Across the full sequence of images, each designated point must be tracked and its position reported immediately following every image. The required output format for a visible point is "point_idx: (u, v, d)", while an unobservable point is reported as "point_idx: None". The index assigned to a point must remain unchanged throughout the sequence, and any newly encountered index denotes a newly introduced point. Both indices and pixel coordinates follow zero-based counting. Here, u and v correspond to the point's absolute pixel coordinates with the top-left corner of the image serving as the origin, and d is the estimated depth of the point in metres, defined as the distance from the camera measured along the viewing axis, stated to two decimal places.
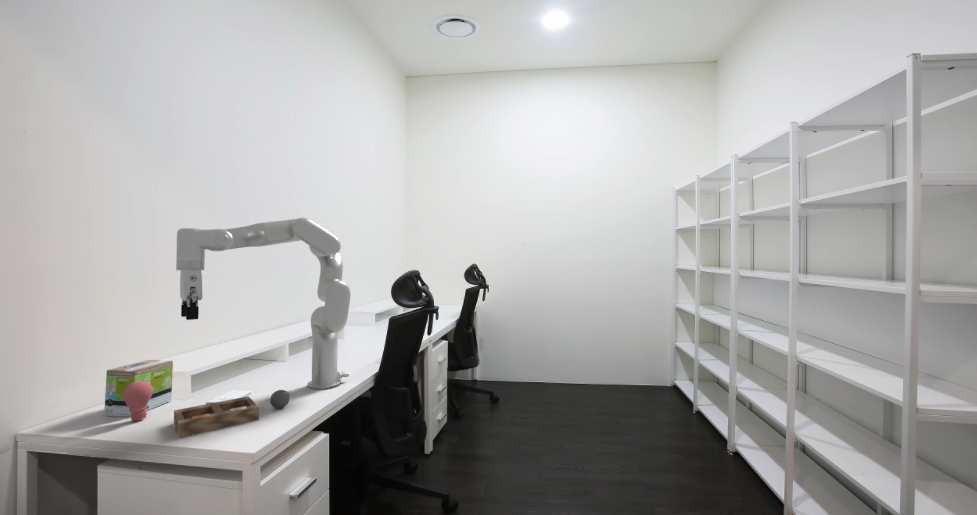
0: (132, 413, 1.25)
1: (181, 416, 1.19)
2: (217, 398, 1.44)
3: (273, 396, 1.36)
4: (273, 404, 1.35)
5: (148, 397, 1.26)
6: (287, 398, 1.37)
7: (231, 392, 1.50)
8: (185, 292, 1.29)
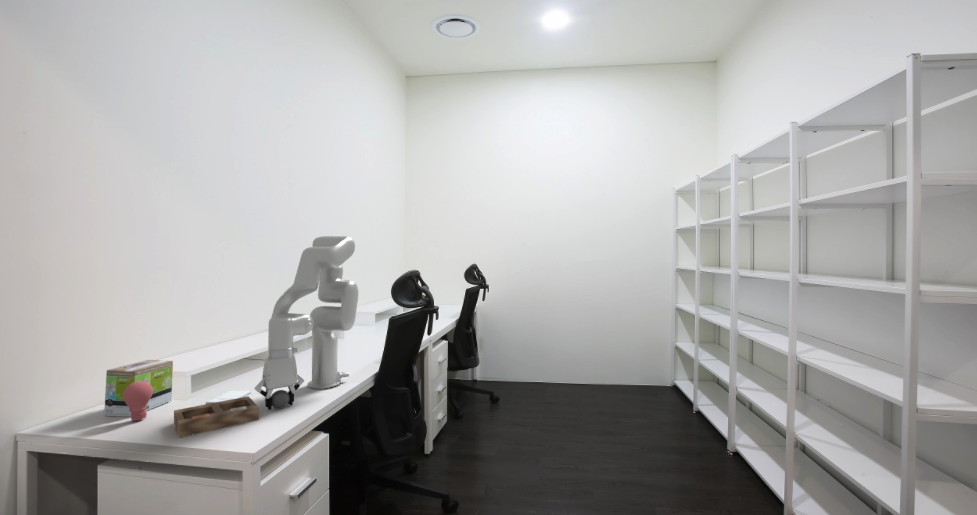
0: (132, 413, 1.25)
1: (181, 416, 1.19)
2: (217, 398, 1.44)
3: (273, 396, 1.36)
4: (273, 404, 1.35)
5: (148, 397, 1.26)
6: (287, 398, 1.37)
7: (231, 392, 1.50)
8: (296, 376, 1.40)
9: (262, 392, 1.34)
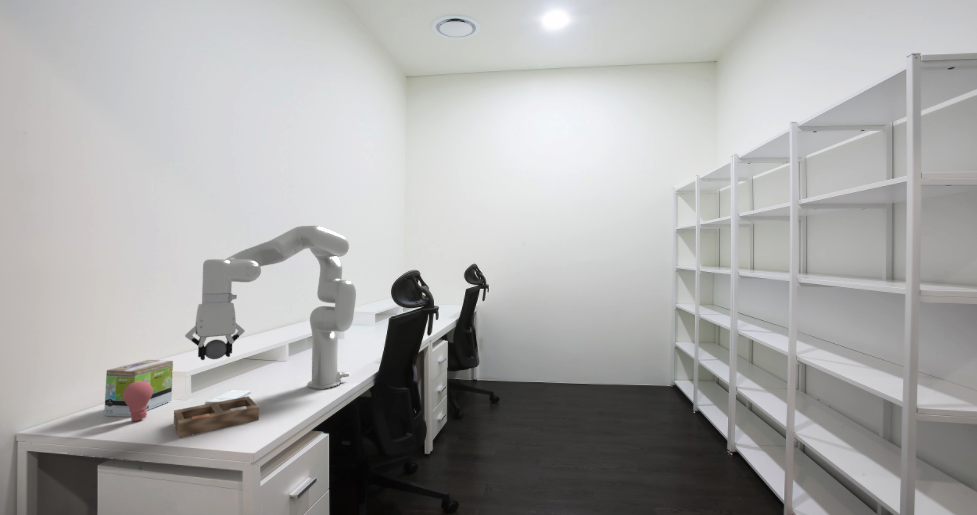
0: (132, 413, 1.25)
1: (181, 416, 1.19)
2: (217, 397, 1.44)
3: (207, 345, 1.23)
4: (207, 354, 1.23)
5: (148, 397, 1.26)
6: (223, 348, 1.25)
7: (231, 392, 1.51)
8: (235, 325, 1.27)
9: (194, 340, 1.21)
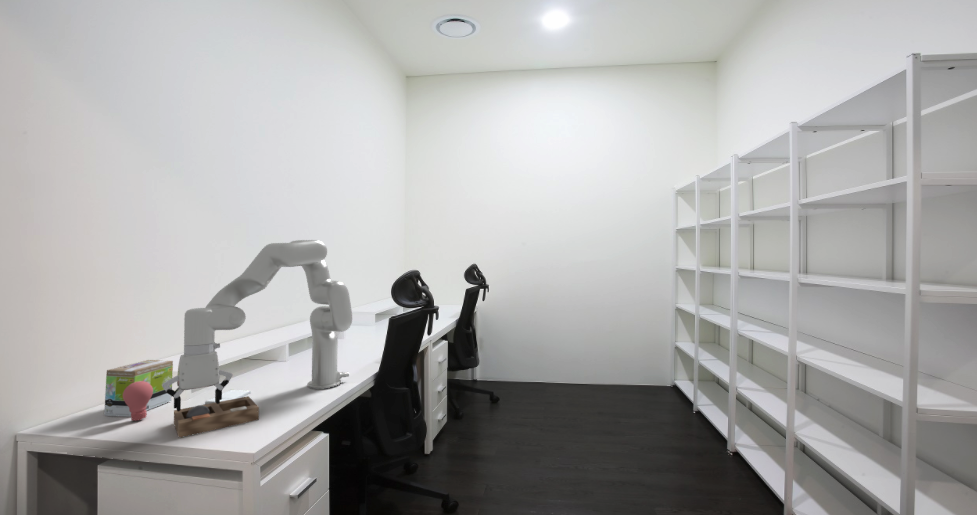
0: (132, 413, 1.25)
1: (181, 416, 1.19)
2: None
3: (189, 413, 1.20)
4: None
5: (148, 397, 1.26)
6: None
7: (231, 391, 1.51)
8: (218, 375, 1.25)
9: (168, 391, 1.17)
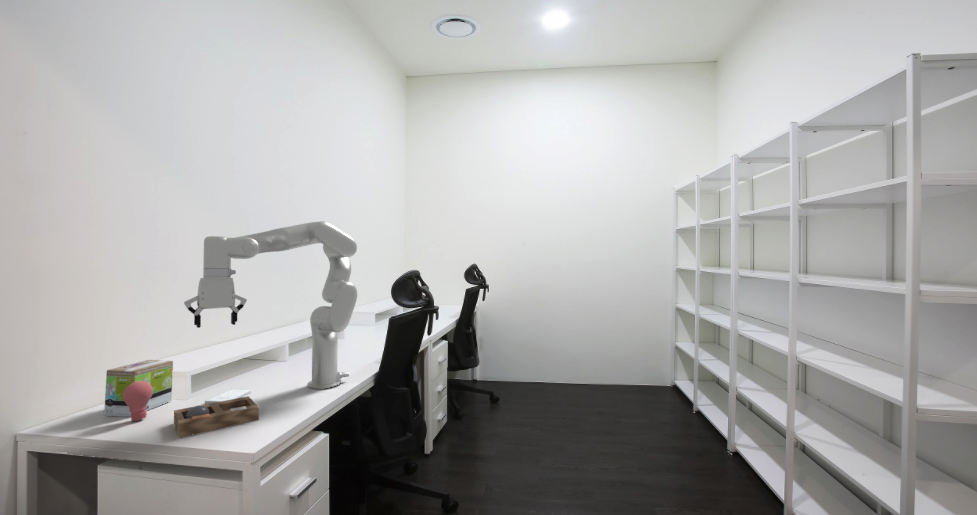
0: (132, 414, 1.25)
1: (181, 416, 1.19)
2: (216, 397, 1.45)
3: (188, 413, 1.20)
4: None
5: (148, 397, 1.26)
6: None
7: (231, 391, 1.52)
8: (234, 298, 1.36)
9: (190, 308, 1.29)
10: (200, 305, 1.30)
